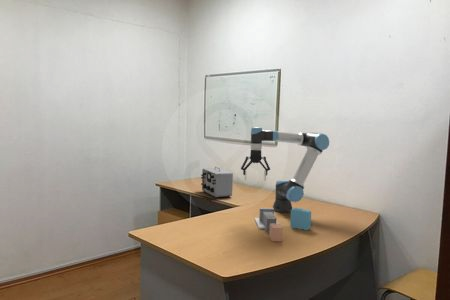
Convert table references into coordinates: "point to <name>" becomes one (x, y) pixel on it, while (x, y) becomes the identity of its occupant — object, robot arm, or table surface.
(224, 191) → the vintage electronic device
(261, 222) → the grey flanged post
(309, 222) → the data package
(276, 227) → the pink block
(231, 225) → the table surface
